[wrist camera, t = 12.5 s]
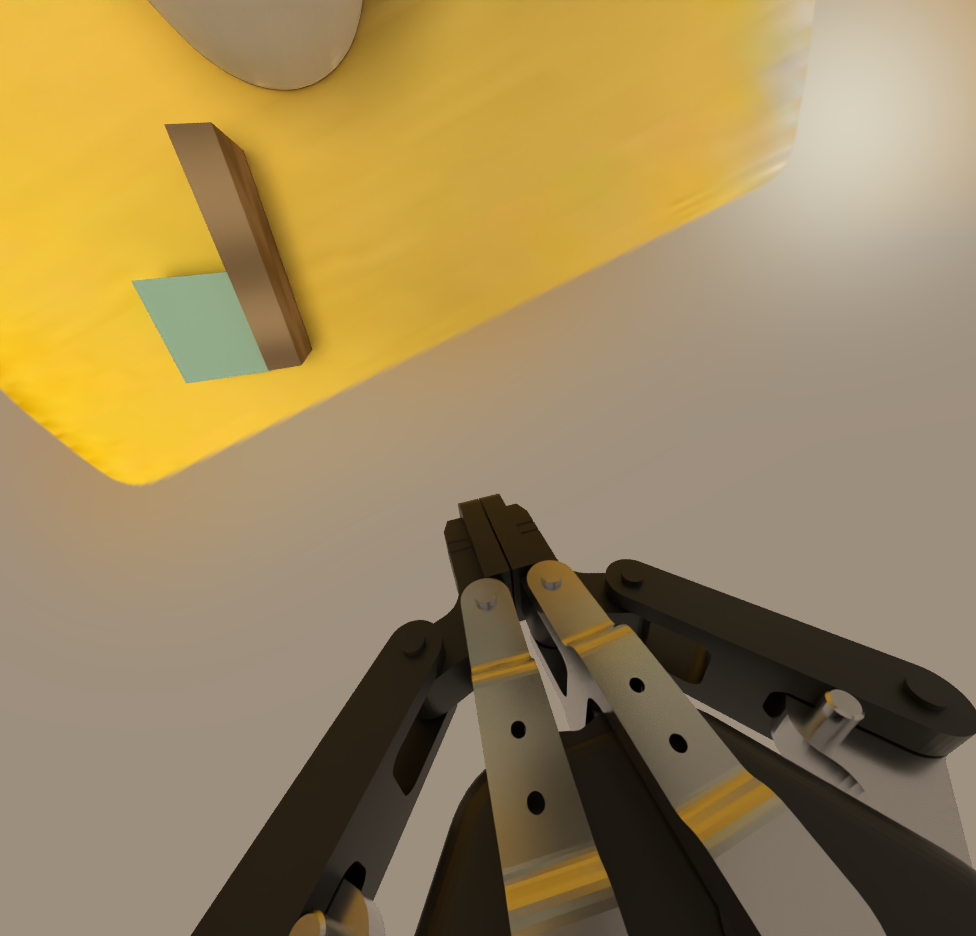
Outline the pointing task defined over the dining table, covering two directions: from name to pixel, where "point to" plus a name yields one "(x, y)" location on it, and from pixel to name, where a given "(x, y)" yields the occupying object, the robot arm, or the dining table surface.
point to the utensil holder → (267, 36)
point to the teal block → (202, 326)
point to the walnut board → (242, 240)
